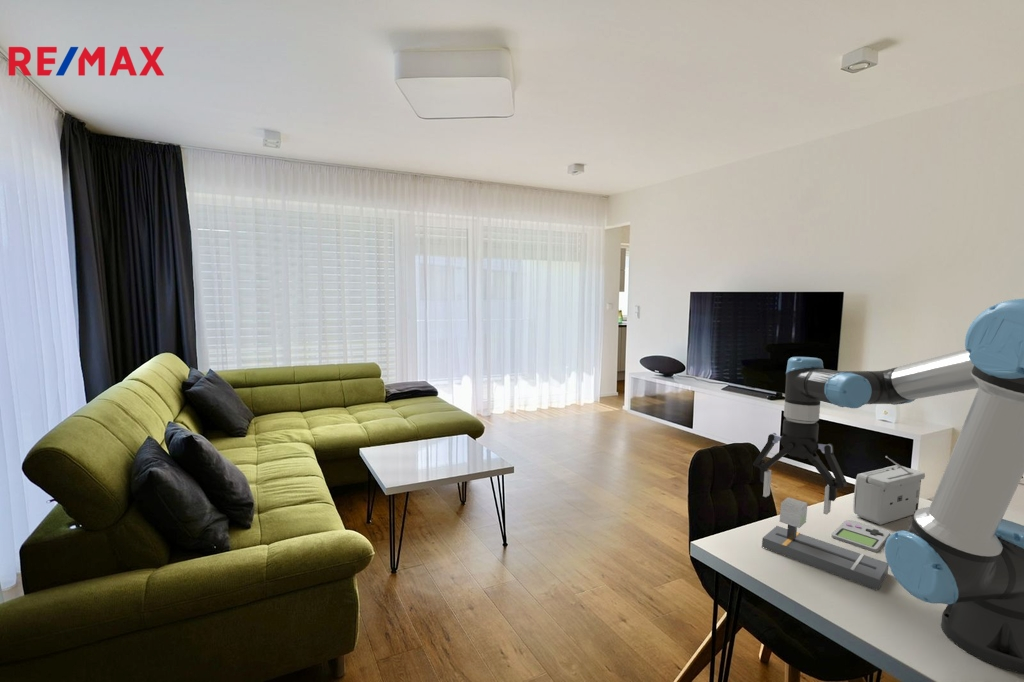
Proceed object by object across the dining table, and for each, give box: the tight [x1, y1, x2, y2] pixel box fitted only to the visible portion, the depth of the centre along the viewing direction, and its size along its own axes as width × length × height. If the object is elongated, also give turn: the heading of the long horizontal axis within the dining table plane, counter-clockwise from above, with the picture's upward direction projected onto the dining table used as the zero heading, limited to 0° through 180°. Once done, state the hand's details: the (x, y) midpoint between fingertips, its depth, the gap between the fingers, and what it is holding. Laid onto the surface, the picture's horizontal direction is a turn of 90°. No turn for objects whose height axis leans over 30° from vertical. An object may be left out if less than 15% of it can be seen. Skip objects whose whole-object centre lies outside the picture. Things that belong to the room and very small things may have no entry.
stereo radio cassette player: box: [852, 455, 926, 526], centre depth 143 cm, size 21×8×20 cm, turn 115°
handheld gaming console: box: [831, 519, 891, 553], centre depth 131 cm, size 10×2×15 cm
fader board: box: [761, 525, 890, 591], centre depth 118 cm, size 24×10×3 cm, turn 43°
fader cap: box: [779, 496, 808, 540], centre depth 123 cm, size 4×5×9 cm
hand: (795, 503), depth 122 cm, fingers open, 13 cm apart
